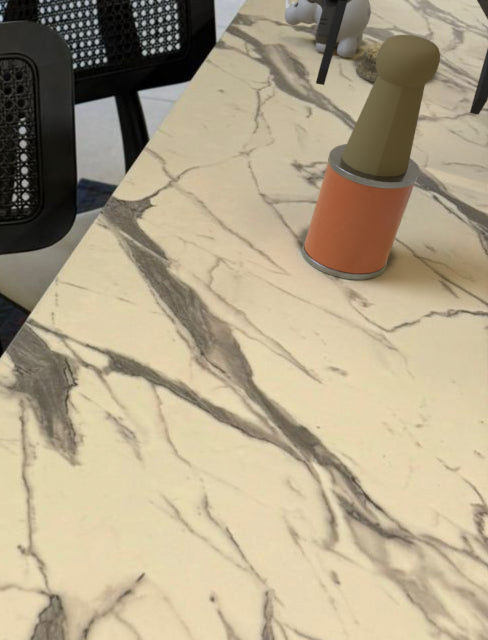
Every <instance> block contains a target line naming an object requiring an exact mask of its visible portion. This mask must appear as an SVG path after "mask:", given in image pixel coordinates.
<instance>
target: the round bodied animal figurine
mask: <svg viewBox="0 0 488 640" xmlns="http://www.w3.org/2000/svg"><path fill="white" fill-rule="evenodd" d="M284 7H285V11H284V20H285V22H286V23H287V24H288V25H290V26H298V25H299V24H301V23H302V24H306V25H312V24H316V26H318V24H319V21H320V17H321V14H322V8H321V6H320V5H318V4H317V3H309V2H308V1H307V0H297V1H295V0H292V3H291V0H285V5H284ZM371 14H372V7H371V3H370V0H351V1H350V2H348V3H347V5H346V8H345V12H344V16H343V20H342V23H341V27H340V30H339V34H338V37H337V41H336V45H335V48H336V54H337V55H338V56H339V57H341V58H353V57H354V56H355V55H356V52H357V49H359V48H360V47H361V46H362V43H363V37H364V31H365V29H366V28H367V27H368V25H369V23H370V20H371V19H370V18H371ZM325 47H326V45H324V44H319V43H316V42H315V50H316V51H317V52H319V53H321V54H324V51H325Z"/></svg>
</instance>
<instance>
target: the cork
mask: <svg viewBox="0 0 488 640" xmlns="http://www.w3.org/2000/svg"><path fill="white" fill-rule="evenodd" d="M383 42H384V43H383V44H382V45H381V47H380V49H379V51H378V54H377V58H376V69H377V72H378V76H377V78H376V80H375V82H373V85H372V87H371V89H370V91H369V94H368V96H367V98H366V100H365V103H364V105H363V107H362V109H361V112H360V114H359V116H358V118H357V120H356V123H355V124H354V127H353V129H352V132H351V133H350V136H349V137H348V140H347V142H346V144H347V145H346V147H345V149H344V151H343V154H342V159H343V161H344V162H345V163H346V164H347V165H348V166H350V167H352V168H354V169H355V170H358V171H361V172H363V173H366V174H371V175H375V176H384V177H391V176H399V175H402V174H404V173H405V172H407V169H408V165H409V160H410V158H411V155H412V149H413V145H414V140H415V135H416V130H417V126H418V121H419V117H420V116H419V115H420V112H421V111H420V110H421V107H422V106H421V105H422V101H423V97H424V92H425V86H426V84H427V83H428V82H429V81H431V80H432V79H433V78H434V76H435V75H436V73H437V71H438V69H439V66H440V61H441V53H440V48H439V46H438V45H436V43H435V42H433V41H431V40H429V39H427V38H424V37H421V36H417V35H411V34H397V35H393V36H390V37H388V38H387V39H385V40H384V41H383Z"/></svg>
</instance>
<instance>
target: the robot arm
mask: <svg viewBox="0 0 488 640" xmlns="http://www.w3.org/2000/svg"><path fill="white" fill-rule="evenodd" d="M307 1H308V2H309V3H317V4H318V5H320V6H321V8H322V14H321V17H320V21H319V24H318V25H317V28H316V33H315V37H314V39H315V44H316V43H319V44H324V45H326V47H325V51H324V53H322V54H323V55H322V57H321V60H320V61H321V62H320V65H319V69H318V73H317V76H316V81H315V84H317V85H321V86H325V84H326V80H327V76H328V72H329V69H330V65H331V62H332V59H333V56H334V55H333V54H334V51H335V48H336V47H335V45H336V41H337V37H338V34H339V30H340V27H341V23H342V20H343V16H344V12H345V8H346V5H347V3H348V2H350V1H351V0H307ZM476 1H477V3H478V5H479V6H480V9H481V10H482V12H483V14H484V16H485V17H486V20H488V0H476ZM487 102H488V48H487V49H486V52H485V56H484V60H483V63H482V66H481V71H480V73H479V78H478V82H477V85H476V89H475V93H474V95H473V99H472V103H471V108H470V110H469V113H470V114H474V115H479V114H480V113H481V111H482V110H483V108H484V107H485V105H486V103H487Z"/></svg>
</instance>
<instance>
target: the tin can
mask: <svg viewBox="0 0 488 640" xmlns="http://www.w3.org/2000/svg"><path fill="white" fill-rule="evenodd" d="M346 145H347V143H344V144H343V143H342V144H340V145H337V146H335V147H334V148H332V149H331V150H330V152H329V155H328V159H327V165H326V169H325V172H324V175H323V179H322V182H321V186H320V189H319V193H318V196H317V199H316V203H315V206H314V210H313V213H312V216H311V220H310V222H309V223H310V224H309V227H308V230H307V234H306V237H305V240H304V241H303V244H302V247H301V255H302V257H303V258H304V260H305V261H306V262H307V263H308V264H309V265H310V266H312V267H313V268H315V269H316V270H318V271H320V272H322V273H324V274H327V275H330V276H333V277H335V278H340V279H344V280H345V279H346V280H355V281H362V280H370V279H374V278H377V277H379V276H381V275H382V274H383V273H384V272H385V270H386V268H387V265H388V260H389V256H390V254H391V251H392V247H393V246H394V242H395V239H396V236H397V233H398V231H399V228H400V225H401V223H402V220H403V218H404V214H405V212H406V209H407V207H408V203H409V201H410V197H411V194H412V192H413V189H414V187H415V183H416V182H417V181H418V179H419V176H420V172H421V170H420V166H419V165H418V164H417V162H416V161H415V160H414V159H412V158H411V157H410V160H409V165H408V169H407V172H405V173H404V174H402V175H399V176H391V177H384V176H375V175H371V174H366V173H363V172H361V171H358V170H355V169H354V168H352V167H350V166H348V165H347V164H346V163H345V162H344V161H343V159H342V154H343V151H344V149H345V147H346Z"/></svg>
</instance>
